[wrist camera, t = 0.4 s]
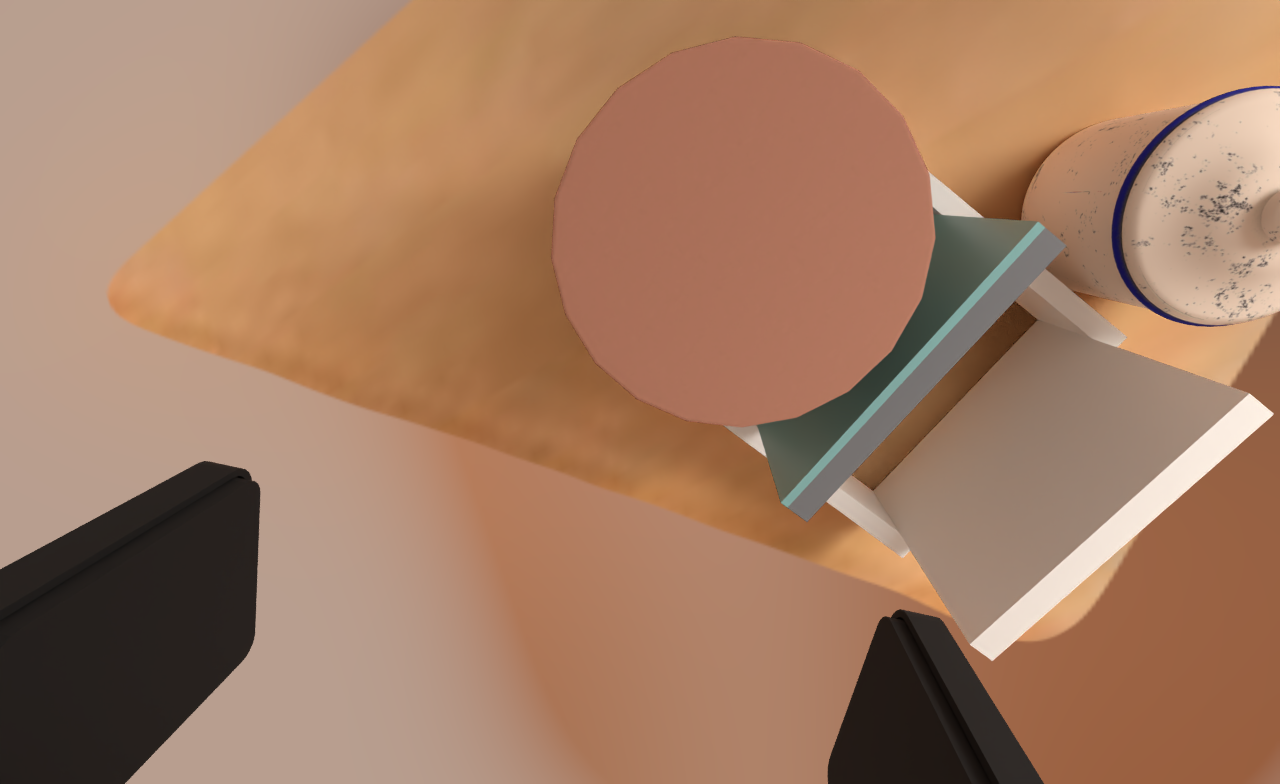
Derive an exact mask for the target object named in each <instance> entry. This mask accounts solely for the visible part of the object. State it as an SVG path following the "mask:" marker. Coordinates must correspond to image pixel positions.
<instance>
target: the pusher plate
mask: <svg viewBox="0 0 1280 784" xmlns="http://www.w3.org/2000/svg"><path fill="white" fill-rule="evenodd" d="M933 216H934V227H935V237H936V238H935V242H934V247H933V251H932V256H931V260H930V264H929V269H928V273H927V278H926V282H925V287H924V291H923V296H922V299H921V301H920V302H919V304H918V306H917V308H916V309H915V311H914V313H913V315H912V316H911V318H910V320H909V321H908V323H907V325H906V327H905V328H904V330H903V332H902V334H901V335H900V337H899V339H898V341H897V342H896V344H895V346H894V348H893V349H892V351H891V352H890V353H889V354H888V355H887V356H886V357H885V358H884V359H882V360H881V361H880V362H879V363H878V364H877V365H876V366H875V367H874V368H873V369H872V370H871V371H870V372H869V373H868V374H867V375H866V376H864V377H863V378H862V379H861V380H860V381H859V382H858V383H857V384H856V385H855V386H854V387H853V388H852V389H851V390H850V391H849V392H847V393H845V394H843V395H841V396H839V397H837V398H835V399H833V400H831V401H829V402H827V403H825V404H823V405H821V406H819V407H817V408H815V409H813V410H811V411H809V412H807V413H805V414H803V415H801V416H799V417H797V418H792V419H786V420H781V421H775V422H770V423H764V424H759V425H757V427H758V430H759V433H760V436H761V440H762V443H763V446H764V449H765V453H766V456H767V459H768V463H769V466H770V469H771V472H772V476H773V479H774V482H775V485H776V489H777V492H778V495H779V499H780V502H781V503H782V504H783V505H784V506H786V507H787V508H788V509H790V510H791V511H793V512H794V513H795V514H797V515H798V516H799V517H801V518H802V519H804V520H805V521H806V522H808V520H809V519H810V518H811V517H812V516H813V515H814V514H815V513H816V512H817V511H818V510H819V509H820V508H821V507H822V506H823V505H824V503H825V502H826V501H827V500H828V499H829V498H830V497H831V496H832V495H833V494H834V493H835V492H836V491H837V490H838V489H839V488H840V486H841V485H842V484H843V483H844V482H845V481H846V480H847V479H848V478H849V477H850V476H851V475H852V474H853V473H854V472H855V470H856V469H857V468H858V467H859V466H860V465H861V464H862V463H863V462H864V461H865V460H866V459H867V458H868V457H869V456H870V455H871V453H872V452H873V451H874V450H875V449H876V448H877V447H878V446H879V445H880V444H881V443H882V442H883V441H884V440H885V439H886V438H887V436H888V435H889V434H890V433H891V432H892V431H893V430H894V429H895V428H896V427H897V426H898V425H899V424H900V423H901V422H902V420H903V419H904V418H905V417H906V416H907V415H908V414H909V413H910V412H911V411H912V410H913V409H914V408H915V407H916V406H917V405H918V403H919V402H920V401H921V400H922V399H923V398H924V397H925V396H926V395H927V394H928V393H929V392H930V391H931V390H932V389H933V388H934V386H935V385H936V384H937V383H938V382H939V381H940V380H941V379H942V378H943V377H944V376H945V375H946V374H947V373H948V372H949V370H950V369H951V368H952V367H953V366H954V365H955V364H956V363H957V362H958V361H959V360H960V359H961V358H962V357H963V356H964V355H965V353H966V352H967V351H968V350H969V349H970V348H971V347H972V346H973V345H974V344H975V343H976V342H977V341H978V340H979V339H980V338H981V336H982V335H983V334H984V333H985V332H986V331H987V330H988V329H989V328H990V327H991V326H992V325H993V324H994V323H995V322H996V320H997V319H998V318H999V317H1000V316H1001V315H1002V314H1003V313H1004V312H1005V311H1006V310H1007V309H1008V308H1009V307H1010V306H1011V305H1012V303H1013V302H1014V301H1015V300H1016V299H1017V298H1018V297H1019V296H1020V295H1021V294H1022V293H1023V292H1024V291H1025V290H1026V289H1027V288H1028V286H1029V285H1030V284H1031V283H1032V282H1033V281H1034V280H1035V279H1036V278H1037V277H1038V276H1039V275H1040V274H1041V273H1042V272H1043V270H1044V269H1045V268H1046V267H1047V266H1048V265H1049V264H1050V263H1051V262H1052V261H1053V260H1054V259H1055V258H1056V257H1057V256H1058V255H1059V253H1060V252H1061V251H1062V250H1063V249H1064V248H1065V247H1066V246H1067V245H1065V244H1064V243H1063V242H1062V241H1061V240H1059V239H1058V238H1057V237H1056V236H1055V235H1054V234H1052V233H1051V232H1050V231H1049V230H1048V229H1046V228H1045V227H1044V226H1043V225H1042V224H1041V223H1039V222H1038V221H1023V220H1009V219H994V218H980V217H965V216H950V215H936V214H933Z"/></svg>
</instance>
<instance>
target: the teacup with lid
mask: <svg viewBox="0 0 1280 784" xmlns="http://www.w3.org/2000/svg"><path fill="white" fill-rule="evenodd" d="M1021 220H1023V221H1038V222H1039V223H1041V224H1042V225H1043V226H1044V227H1045V228H1046V229H1048V230H1049V231H1050V232H1051V233H1052V234H1054V235H1055V236H1056V237H1057V238H1058V239H1059V240H1061V241H1062V242H1063V243H1064V244H1065V245H1067V246H1066V247H1065V248H1064V249H1063V250H1062V251H1061V252H1060V253H1059V255H1058V256H1057V257H1056V258H1055V259H1054V260H1053V261H1052V262H1051V263H1050V264H1049V265H1048V266H1047V267H1046V268H1045V269H1046V270H1047V271H1048V272H1050V273H1051V274H1052V275H1053V276H1054V277H1056V278H1057V279H1058V280H1059V281H1060V282H1062V283H1063V284H1064V285H1065V286H1066V287H1068V288H1069V289H1070V290H1072V291H1076V292H1080V293H1085V294H1089V295H1093V296H1097V297H1101V298H1105V299H1109V300H1114V301H1118V302H1122V303H1126V304H1130V305H1134V306H1138V307H1143V308H1147V309H1150V310H1151V311H1153V312H1155V313H1156V314H1158V315H1160V316H1162V317H1164V318H1167V319H1169V320H1172V321H1175V322H1179V323H1183V324H1187V325H1194V326H1207V327H1213V326H1226V325H1233V324H1238V323H1244V322H1249V321H1253V320H1256V319H1260V318H1263V317H1266V316H1268V315H1271V314H1273V313H1276V312H1278V311H1280V86H1260V87H1250V88H1244V89H1239V90H1235V91H1231V92H1228V93H1225V94H1222V95H1219V96H1216V97H1213V98H1211V99H1209V100H1207V101H1205V102H1202V103H1200V104H1194V105H1189V106H1183V107H1178V108H1172V109H1167V110H1161V111H1156V112H1151V113H1145V114H1140V115H1134V116H1129V117H1123V118H1118V119H1113V120H1108V121H1104V122H1100V123H1098V124H1095V125H1092V126H1090V127H1088V128H1085V129H1083V130H1081V131H1080V132H1078V133H1076V134H1074V135H1073V136H1071V137H1070V138H1068V139H1067V140H1065V141H1064V142H1063V143H1062V144H1061V145H1059V146H1058V147H1057V148H1056V149H1055V150H1054V151H1053V152H1052V153H1051V154H1050V155H1049V156H1048V157H1047V158H1046V160H1045V161H1044V162H1043V163H1042V165H1041V166H1040V167H1039V169H1038V171H1037V172H1036V174H1035V175H1034V177H1033V179H1032V181H1031V183H1030V185H1029V188H1028V190H1027V193H1026V196H1025V199H1024V203H1023V208H1022V217H1021Z"/></svg>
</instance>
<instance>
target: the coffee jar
mask: <svg viewBox="0 0 1280 784" xmlns="http://www.w3.org/2000/svg"><path fill="white" fill-rule="evenodd" d="M935 238H936V237H935V227H934V216H933V205H932V195H931V184H930V174H929V172H928V170H927V168H926V165H925V163H924V161H923V159H922V157H921V154H920V152H919V150H918V148H917V145H916V143H915V141H914V139H913V137H912V134H911V132H910V130H909V128H908V126H907V123H906V121H905V119H904V117H903V116H902V115H901V113H900V112H899V111H898V110H897V109H896V108H895V107H894V106H893V105H892V104H891V103H890V102H889V101H888V100H887V99H886V98H885V97H884V96H883V95H882V94H881V93H880V92H879V91H878V90H877V89H876V88H875V87H874V86H873V85H872V84H871V83H870V82H869V80H868V79H867V78H866V77H865V76H864V75H863V74H862V73H861V72H860V71H859V70H857V69H855V68H853V67H851V66H848V65H846V64H844V63H842V62H840V61H838V60H836V59H834V58H832V57H830V56H828V55H825V54H823V53H821V52H819V51H817V50H815V49H813V48H811V47H809V46H807V45H805V44H802V43H800V42H789V41H779V40H768V39H757V38H747V37H736V36H735V37H731V38H727V39H724V40H720V41H716V42H712V43H708V44H704V45H700V46H696V47H692V48H688V49H684V50H681V51H677V52H673V53H671V54H669V55H668V56H666V57H665V58H663V59H662V60H660V61H658V62H657V63H655V64H654V65H652V66H651V67H649V68H648V69H646V70H645V71H643V72H642V73H640V74H639V75H637V76H636V77H634V78H633V79H631V80H630V81H628V82H627V83H625V84H623V85H622V86H620V87H619V88H617V89H616V91H615V92H614V93H613V94H612V96H611V97H610V98H609V99H608V101H607V102H606V103H605V105H604V106H603V107H602V108H601V110H600V111H599V112H598V113H597V115H596V116H595V117H594V118H593V120H592V121H591V122H590V123H589V125H588V126H587V127H586V128H585V130H584V131H583V132H582V133H581V135H580V136H579V137H578V138H577V140H576V143H575V146H574V148H573V151H572V154H571V156H570V159H569V161H568V164H567V167H566V169H565V172H564V175H563V177H562V180H561V183H560V185H559V188H558V191H557V193H556V196H555V202H554V219H553V237H552V254H551V259H552V263H553V267H554V271H555V275H556V279H557V283H558V287H559V291H560V295H561V299H562V303H563V307H564V311H565V315H566V316H567V318H568V320H569V321H570V323H571V325H572V326H573V328H574V329H575V331H576V333H577V334H578V336H579V338H580V339H581V341H582V343H583V344H584V346H585V347H586V349H587V351H588V352H589V354H590V356H591V357H592V359H593V360H594V362H595V363H596V364H597V365H598V366H599V367H600V368H602V369H603V370H604V371H605V372H606V373H607V374H608V375H610V376H611V377H612V378H613V379H614V380H615V381H616V382H618V383H619V384H620V385H621V386H622V387H623V388H624V389H626V390H627V391H628V392H629V393H630V394H631V395H632V396H634V397H635V398H636V399H638V400H640V401H642V402H644V403H647V404H649V405H651V406H654V407H656V408H658V409H660V410H663V411H665V412H667V413H669V414H672V415H674V416H676V417H679V418H681V419H683V420H685V421H690V422H699V423H707V424H716V425H724V426H733V427H747V426H753V425H759V424H764V423H770V422H775V421H781V420H786V419H792V418H797V417H799V416H801V415H803V414H805V413H807V412H809V411H811V410H813V409H815V408H817V407H819V406H821V405H823V404H825V403H827V402H829V401H831V400H833V399H835V398H837V397H839V396H841V395H843V394H845V393H847V392H849V391H850V390H851V389H852V388H853V387H854V386H855V385H856V384H857V383H858V382H859V381H860V380H861V379H862V378H863V377H864V376H866V375H867V374H868V373H869V372H870V371H871V370H872V369H873V368H874V367H875V366H876V365H877V364H878V363H879V362H880V361H881V360H882V359H884V358H885V357H886V356H887V355H888V354H889V353H890V352H891V351H892V349H893V348H894V346H895V344H896V342H897V341H898V339H899V337H900V335H901V334H902V332H903V330H904V328H905V327H906V325H907V323H908V321H909V320H910V318H911V316H912V315H913V313H914V311H915V309H916V308H917V306H918V304H919V302H920V301H921V299H922V296H923V291H924V287H925V282H926V278H927V273H928V269H929V264H930V260H931V256H932V251H933V247H934V242H935Z"/></svg>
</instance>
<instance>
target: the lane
mask: <svg viewBox="0 0 1280 784" xmlns="http://www.w3.org/2000/svg"><path fill="white" fill-rule="evenodd" d="M928 172H929V171H928ZM929 174H930V184H931V195H932V205H933V214H936V215H950V216H965V217H980V218H984V217H983V216H981V215H980V214H979V213H978V212H977V211H975V210H974V209H973V208H972V207H971V206H969V205H968V204H967V203H966V202H965V201H963V200H962V199H961V198H960V197H959V196H957V195H956V194H955V193H954V192H953V191H951V190H950V189H949V188H948V187H947V186H945V185H944V184H943V183H942V182H941V181H939V180H938V179H937V178H936V177H935V176H933V175H932V174H931V173H930V172H929ZM1015 301H1016V302H1017V303H1018V304H1019V305H1021V306H1022V307H1023V308H1024V309H1025V310H1027V311H1028V312H1029V313H1030V314H1032V315H1033V316H1034V317H1035V318H1036V319H1038V320H1037V321H1036V322H1035V323H1034V324H1033V325H1032V326H1031V327H1030V328H1029V329H1028V330H1027V331H1026V332H1025V333H1024V334H1023V336H1022V337H1021V338H1020V339H1019V340H1018V341H1017V342H1016V343H1015V344H1014V345H1013V346H1012V347H1011V348H1010V349H1009V350H1008V351H1007V352H1006V353H1005V354H1004V355H1003V356H1002V357H1001V358H1000V359H999V361H998V362H997V363H996V364H995V365H994V366H993V367H992V368H991V369H990V370H989V371H988V372H987V373H986V374H985V375H984V376H983V377H982V378H981V379H980V380H979V381H978V382H977V383H976V384H975V385H974V387H973V388H972V389H971V390H970V391H969V392H968V393H967V394H966V395H965V396H964V397H963V398H962V399H961V400H960V401H959V402H958V403H957V404H956V405H955V406H954V407H953V408H952V409H951V410H950V411H949V413H948V414H947V415H946V416H945V417H944V418H943V419H942V420H941V421H940V422H939V423H938V424H937V425H936V426H935V427H934V428H933V429H932V430H931V431H930V432H929V433H928V434H927V435H926V436H925V437H924V439H923V440H922V441H921V442H920V443H919V444H918V445H917V446H916V447H915V448H914V449H913V450H912V451H911V452H910V453H909V454H908V455H907V456H906V457H905V458H904V459H903V460H902V461H901V462H900V464H899V465H898V466H897V467H896V468H895V469H894V470H893V471H892V472H891V473H890V474H889V475H888V476H887V477H886V478H885V479H884V480H883V481H882V482H881V483H880V484H879V485H878V486H877V487H876V488H875V490H874V491H872V490H871V489H870V488H868V487H867V486H865V485H864V484H863V483H861V482H860V481H859V480H857V479H856V478H855V477H853V476H852V475H851V476H850V477H849V478H848V479H847V480H846V481H845V482H844V483H843V484H842V485H841V486H840V488H839V489H838V490H837V491H836V492H835V493H834V494H833V495H832V496H831V497H830V498H829V499H828V500H827V501H826V502H828V503H829V504H830V505H832V506H833V507H834V508H836V509H837V510H838V511H840V512H841V513H842V514H844V515H845V516H847V517H848V518H849V519H851V520H852V521H853V522H855V523H856V524H857V525H859V526H860V527H861V528H863V529H864V530H865V531H867V532H868V533H870V534H871V535H872V536H874V537H875V538H876V539H878V540H879V541H880V542H882V543H883V544H884V545H886V546H887V547H889V548H890V549H891V550H893V551H894V552H895V553H897V554H898V555H899V556H901V557H902V558H903V557H904V556H905V555H906V554H907V553H908V552H909V551H911V552H912V554H913V555H914V557H915V558H916V560H917V562H918V563H919V565H920V566H921V568H922V570H923V571H924V573H925V574H926V576H927V577H928V579H929V581H930V582H931V584H932V585H933V587H934V589H935V590H936V592H937V593H938V595H939V596H940V598H941V600H942V601H943V603H944V604H945V606H946V608H947V609H948V611H949V612H950V614H951V615H952V617H953V619H954V620H955V622H956V623H957V625H958V627H959V628H960V630H961V631H962V633H963V634H964V636H965V638H966V639H967V641H968V642H969V644H970V645H972V646H973V647H974V648H975V649H977V650H978V651H980V652H981V653H982V654H984V655H985V656H987V657H988V658H989V659H991V660H992V661H993V660H994V659H995V658H996V657H997V656H998V655H999V654H1001V653H1002V652H1003V651H1004V650H1005V649H1006V648H1008V647H1009V646H1010V645H1011V644H1012V643H1013V642H1014V641H1016V640H1017V639H1018V638H1019V637H1020V636H1021V635H1022V634H1024V633H1025V632H1026V631H1027V630H1028V629H1029V628H1030V627H1032V626H1033V625H1034V624H1035V623H1036V622H1037V621H1038V620H1040V619H1041V618H1042V617H1043V616H1044V615H1045V614H1046V613H1048V612H1049V611H1050V610H1051V609H1052V608H1053V607H1054V606H1055V605H1057V604H1058V603H1059V602H1060V601H1061V600H1062V599H1063V598H1065V597H1066V596H1067V595H1068V594H1069V593H1070V592H1071V591H1073V590H1074V589H1075V588H1076V587H1077V586H1078V585H1079V584H1081V583H1082V582H1083V581H1084V580H1085V579H1086V578H1087V577H1089V576H1090V575H1091V574H1092V573H1093V572H1094V571H1095V570H1097V569H1098V568H1099V567H1100V566H1101V565H1102V564H1103V563H1105V562H1106V561H1107V560H1108V559H1109V558H1110V557H1111V556H1113V555H1114V554H1115V553H1116V552H1117V551H1118V550H1119V549H1121V548H1122V547H1123V546H1124V545H1125V544H1126V543H1127V542H1129V541H1130V540H1131V539H1132V538H1133V537H1134V536H1135V535H1137V534H1138V533H1139V532H1140V531H1141V530H1142V529H1143V528H1144V527H1146V526H1147V525H1148V524H1149V523H1150V522H1151V521H1152V520H1153V519H1155V518H1156V517H1157V516H1158V515H1159V514H1160V513H1161V512H1163V511H1164V510H1165V509H1166V508H1167V507H1168V506H1169V505H1171V504H1172V503H1173V502H1174V501H1175V500H1176V499H1178V498H1179V497H1180V496H1181V495H1182V494H1183V493H1184V492H1186V491H1187V490H1188V489H1189V488H1190V487H1191V486H1192V485H1193V484H1194V483H1196V482H1197V481H1198V480H1199V479H1200V478H1201V477H1203V476H1204V475H1205V474H1206V473H1207V472H1208V471H1209V470H1211V469H1212V468H1213V467H1214V466H1215V465H1216V464H1217V463H1219V462H1220V461H1221V460H1222V459H1223V458H1224V457H1225V456H1227V455H1228V454H1229V453H1230V452H1231V451H1232V450H1233V449H1235V448H1236V447H1237V446H1238V445H1239V444H1240V443H1241V442H1243V441H1244V440H1245V439H1246V438H1247V437H1248V436H1249V435H1251V434H1252V433H1253V432H1254V431H1255V430H1256V429H1257V428H1258V427H1260V426H1261V425H1262V424H1263V423H1264V422H1265V421H1267V420H1268V419H1269V418H1270V417H1271V416H1272V415H1273V413H1272V412H1271V411H1270V410H1269V409H1267V408H1266V407H1265V406H1264V405H1263V404H1261V403H1260V402H1259V401H1258V400H1257V399H1255V398H1254V397H1253V396H1252V395H1251V394H1250V393H1247V392H1244V391H1241V390H1238V389H1235V388H1232V387H1230V386H1227V385H1224V384H1221V383H1218V382H1215V381H1212V380H1209V379H1207V378H1204V377H1201V376H1198V375H1195V374H1192V373H1189V372H1187V371H1184V370H1181V369H1178V368H1175V367H1172V366H1169V365H1166V364H1164V363H1161V362H1158V361H1155V360H1152V359H1149V358H1146V357H1144V356H1141V355H1138V354H1135V353H1132V352H1129V351H1126V350H1123V349H1121V348H1118V346H1119V345H1120V344H1121V343H1122V342H1123V341H1124V340H1125V339H1126V338H1127V337H1126V336H1125V335H1124V334H1123V333H1122V332H1120V331H1119V330H1118V329H1117V328H1116V327H1114V326H1113V325H1112V324H1111V323H1110V322H1108V321H1107V320H1106V319H1105V318H1104V317H1102V316H1101V315H1100V314H1099V313H1098V312H1096V311H1095V310H1094V309H1093V308H1092V307H1090V306H1089V305H1088V304H1087V303H1086V302H1084V301H1083V300H1082V299H1081V298H1080V297H1078V296H1077V295H1076V294H1075V293H1074V292H1072V291H1071V290H1070V289H1069V288H1068V287H1066V286H1065V285H1064V284H1063V283H1062V282H1060V281H1059V280H1058V279H1057V278H1056V277H1054V276H1053V275H1052V274H1051V273H1050V272H1048V271H1047V270H1046V269H1044V270H1043V272H1042V273H1041V274H1040V275H1039V276H1038V277H1037V278H1036V279H1035V280H1034V281H1033V282H1032V283H1031V284H1030V285H1029V286H1028V288H1027V289H1026V290H1025V291H1024V292H1023V293H1022V294H1021V295H1020V296H1019V297H1018V298H1017V299H1016V300H1015ZM723 426H724V425H723ZM724 427H726V428H727V429H729V430H730V431H731V432H733V433H734V434H735V435H737V436H738V437H739V438H741V439H742V440H743V441H745V442H746V443H748V444H749V445H750V446H752V447H753V448H754V449H756V450H757V451H758V452H760V453H761V454H762V455H764V456H765V457H767V456H766V453H765V449H764V446H763V443H762V440H761V436H760V433H759V430H758V427H757V425H753V426H747V427H733V426H724Z"/></svg>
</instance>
